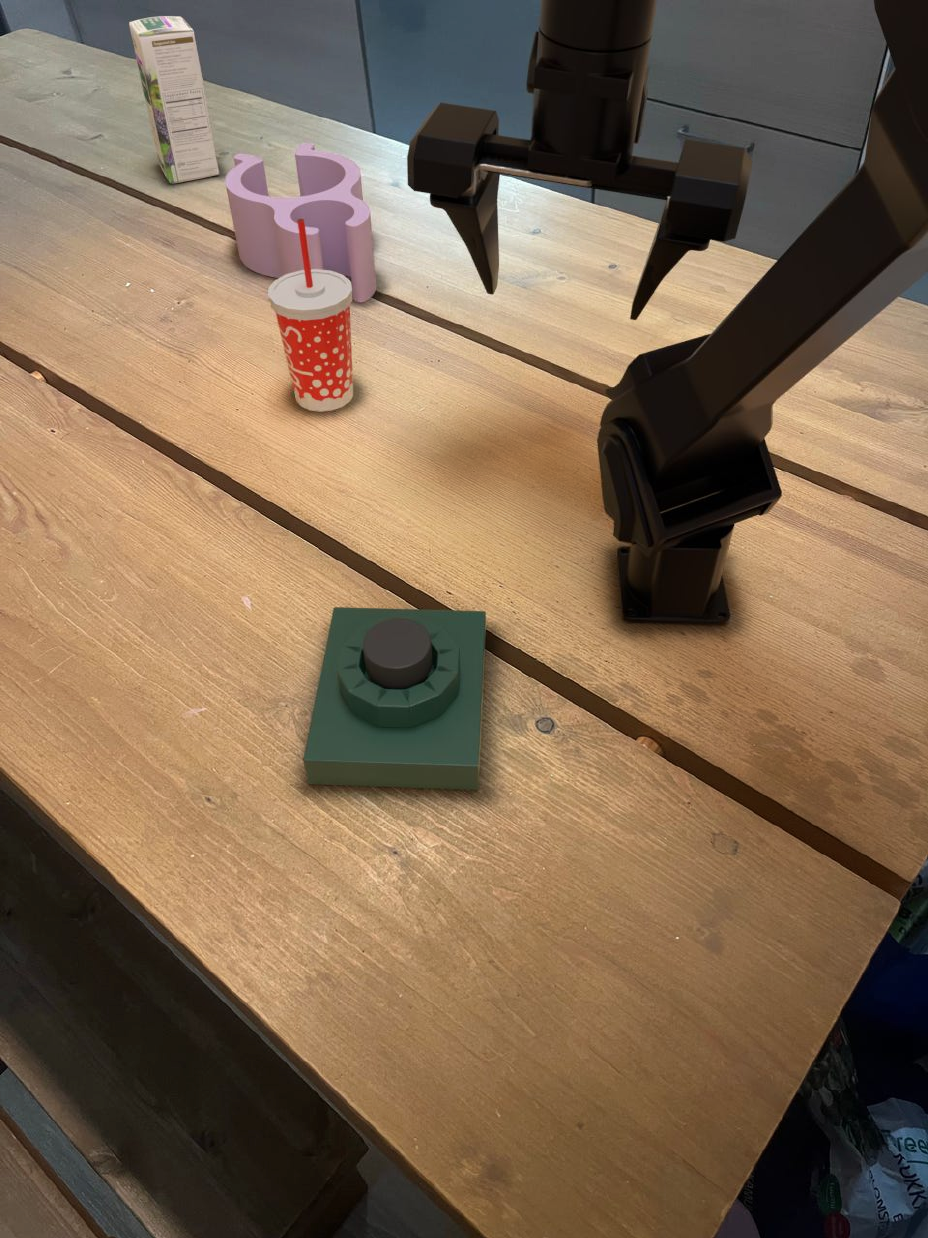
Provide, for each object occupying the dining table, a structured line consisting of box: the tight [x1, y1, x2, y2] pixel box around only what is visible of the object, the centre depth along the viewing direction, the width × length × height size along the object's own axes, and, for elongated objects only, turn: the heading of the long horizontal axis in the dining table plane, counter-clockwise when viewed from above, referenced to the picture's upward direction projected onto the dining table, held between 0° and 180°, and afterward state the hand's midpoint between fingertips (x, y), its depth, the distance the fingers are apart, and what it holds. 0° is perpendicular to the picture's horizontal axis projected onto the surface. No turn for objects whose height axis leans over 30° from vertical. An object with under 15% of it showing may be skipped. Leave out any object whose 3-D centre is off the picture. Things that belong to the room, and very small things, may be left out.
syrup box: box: [128, 15, 221, 184], centre depth 102 cm, size 6×6×14 cm
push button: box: [363, 618, 432, 689], centre depth 51 cm, size 4×4×2 cm
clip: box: [224, 142, 377, 303], centre depth 89 cm, size 20×12×7 cm, turn 23°
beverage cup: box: [267, 219, 354, 413], centre depth 71 cm, size 6×6×14 cm
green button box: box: [302, 606, 487, 791], centre depth 52 cm, size 11×9×4 cm
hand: (562, 303), depth 60 cm, fingers open, 9 cm apart
